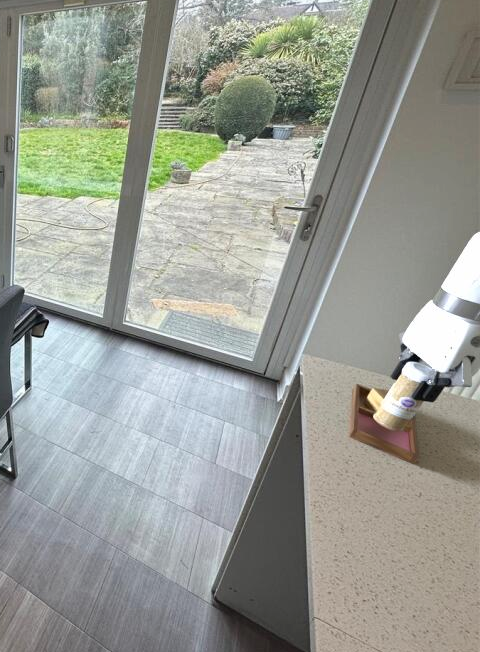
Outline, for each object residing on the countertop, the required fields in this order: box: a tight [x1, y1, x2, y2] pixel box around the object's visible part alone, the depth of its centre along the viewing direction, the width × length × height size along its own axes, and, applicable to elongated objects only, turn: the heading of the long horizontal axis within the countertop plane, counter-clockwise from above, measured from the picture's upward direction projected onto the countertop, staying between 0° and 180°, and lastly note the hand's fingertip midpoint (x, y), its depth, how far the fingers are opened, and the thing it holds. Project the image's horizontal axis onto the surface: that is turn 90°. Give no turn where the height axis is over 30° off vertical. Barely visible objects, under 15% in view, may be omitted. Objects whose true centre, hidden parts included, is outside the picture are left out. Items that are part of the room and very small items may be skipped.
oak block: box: [364, 387, 390, 412], centre depth 85 cm, size 4×4×4 cm
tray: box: [348, 383, 420, 465], centre depth 83 cm, size 9×18×2 cm, turn 138°
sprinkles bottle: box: [373, 362, 443, 431], centre depth 76 cm, size 5×5×14 cm
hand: (411, 388), depth 75 cm, fingers closed on sprinkles bottle, 4 cm apart
